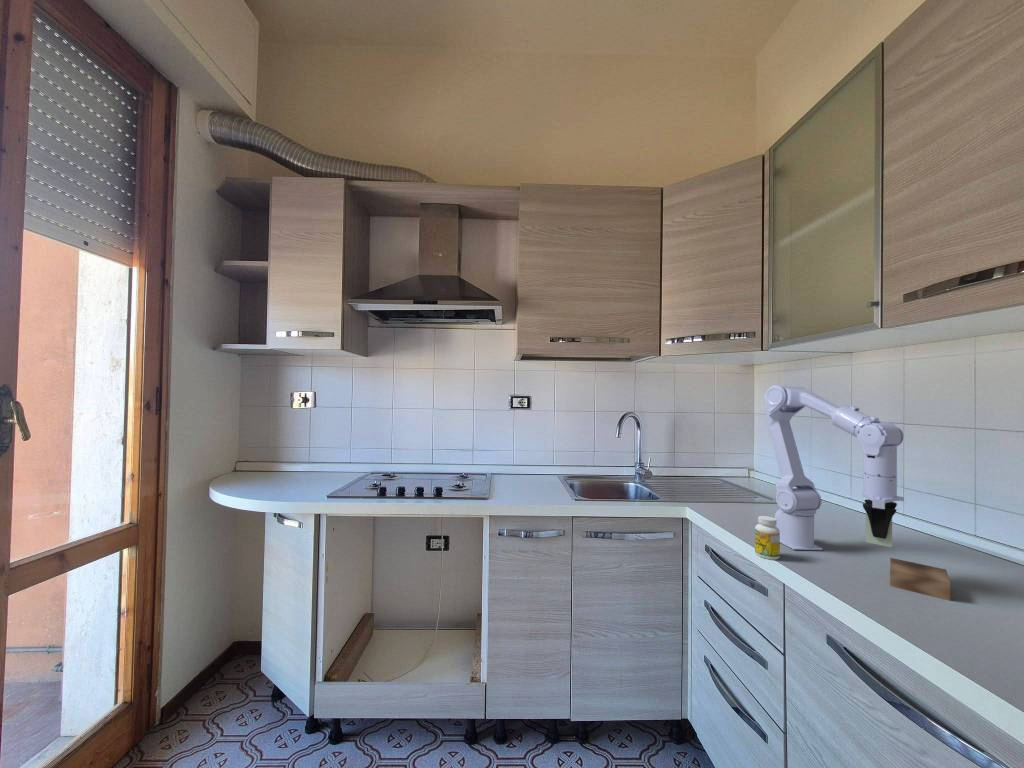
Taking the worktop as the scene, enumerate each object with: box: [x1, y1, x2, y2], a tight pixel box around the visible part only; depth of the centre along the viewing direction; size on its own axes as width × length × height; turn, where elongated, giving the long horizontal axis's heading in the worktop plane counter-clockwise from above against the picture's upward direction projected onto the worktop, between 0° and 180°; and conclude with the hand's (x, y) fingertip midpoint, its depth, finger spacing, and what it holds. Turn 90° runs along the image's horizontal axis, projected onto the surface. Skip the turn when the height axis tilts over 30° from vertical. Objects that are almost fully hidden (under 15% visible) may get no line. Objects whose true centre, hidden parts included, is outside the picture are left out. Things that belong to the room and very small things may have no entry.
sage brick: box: [865, 513, 893, 548], centre depth 95 cm, size 4×4×6 cm
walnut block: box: [889, 557, 951, 602], centre depth 90 cm, size 9×9×4 cm
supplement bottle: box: [754, 515, 781, 561], centre depth 105 cm, size 5×5×10 cm
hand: (879, 535), depth 95 cm, fingers closed on sage brick, 4 cm apart
